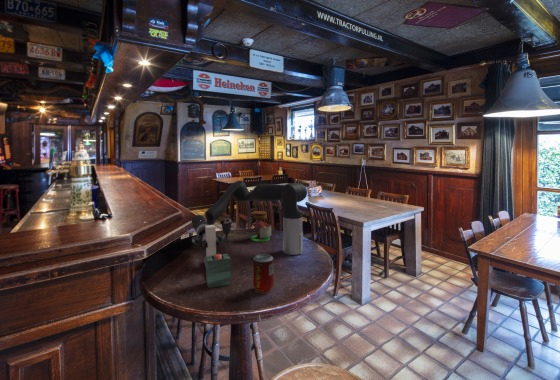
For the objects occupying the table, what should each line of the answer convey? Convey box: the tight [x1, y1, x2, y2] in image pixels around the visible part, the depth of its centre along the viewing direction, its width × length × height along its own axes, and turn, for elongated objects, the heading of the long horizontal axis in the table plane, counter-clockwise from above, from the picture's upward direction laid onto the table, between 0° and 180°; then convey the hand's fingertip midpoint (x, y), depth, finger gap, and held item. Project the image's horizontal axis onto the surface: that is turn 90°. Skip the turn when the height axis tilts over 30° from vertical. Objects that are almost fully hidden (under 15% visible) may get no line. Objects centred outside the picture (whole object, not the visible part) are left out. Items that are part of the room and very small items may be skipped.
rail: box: [205, 253, 232, 289], centre depth 119 cm, size 26×8×10 cm, turn 22°
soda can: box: [252, 253, 274, 294], centre depth 105 cm, size 7×7×12 cm
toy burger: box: [250, 210, 272, 243], centre depth 164 cm, size 12×13×15 cm
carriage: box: [203, 224, 217, 268], centre depth 123 cm, size 6×5×17 cm
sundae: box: [219, 212, 233, 243], centre depth 162 cm, size 7×7×15 cm
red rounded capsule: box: [214, 253, 222, 260], centre depth 109 cm, size 3×3×5 cm
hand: (211, 244), depth 120 cm, fingers closed on carriage, 3 cm apart
